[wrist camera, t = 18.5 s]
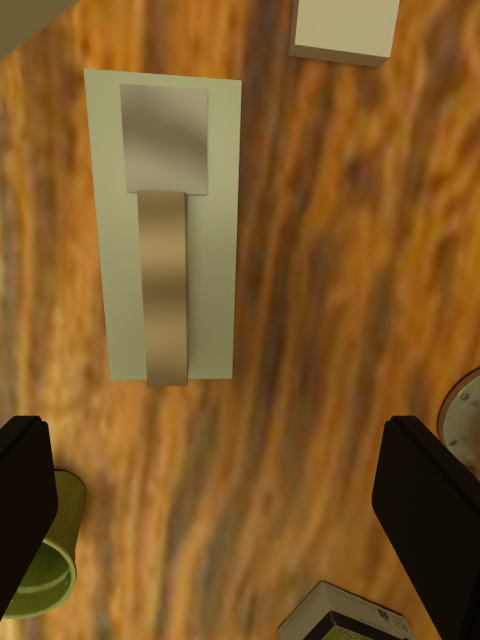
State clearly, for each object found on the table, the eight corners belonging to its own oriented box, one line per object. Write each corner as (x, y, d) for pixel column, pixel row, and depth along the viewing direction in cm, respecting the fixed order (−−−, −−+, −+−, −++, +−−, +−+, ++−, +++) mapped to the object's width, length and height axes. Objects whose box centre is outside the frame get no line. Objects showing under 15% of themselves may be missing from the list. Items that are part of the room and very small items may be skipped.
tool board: (231, 374, 33) (232, 378, 33) (112, 376, 32) (110, 380, 32) (240, 84, 26) (241, 80, 25) (87, 72, 25) (83, 68, 24)
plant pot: (123, 495, 37) (100, 579, 28) (55, 542, 38) (14, 636, 29) (56, 437, 34) (9, 511, 25) (-15, 489, 35) (-83, 577, 26)
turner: (206, 358, 32) (206, 385, 27) (138, 359, 31) (126, 386, 26) (207, 92, 25) (208, 67, 21) (122, 87, 25) (103, 58, 20)
